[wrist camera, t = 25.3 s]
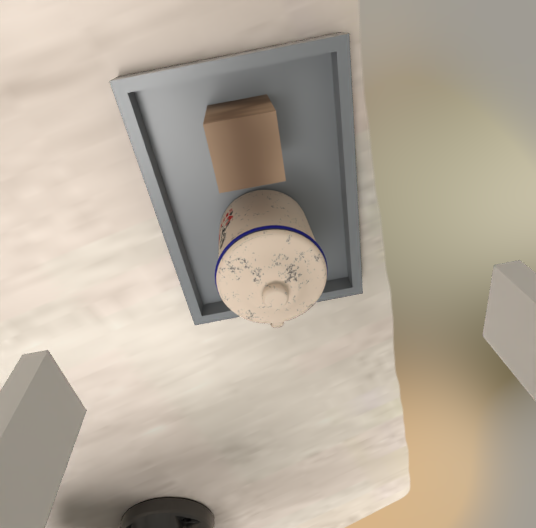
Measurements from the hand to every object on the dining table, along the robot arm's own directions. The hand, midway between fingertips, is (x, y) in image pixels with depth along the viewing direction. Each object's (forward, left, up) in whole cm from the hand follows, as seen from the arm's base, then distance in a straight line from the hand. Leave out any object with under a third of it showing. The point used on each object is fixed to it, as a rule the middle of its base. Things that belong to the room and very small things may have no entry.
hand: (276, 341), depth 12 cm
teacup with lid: (-11, 0, -26) cm, 28 cm away
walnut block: (0, 0, -26) cm, 26 cm away
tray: (-6, 0, -27) cm, 27 cm away
